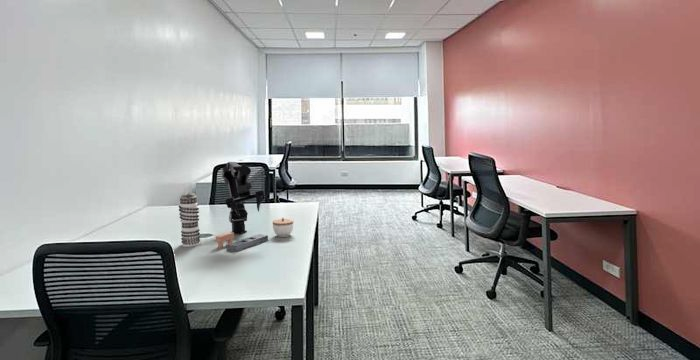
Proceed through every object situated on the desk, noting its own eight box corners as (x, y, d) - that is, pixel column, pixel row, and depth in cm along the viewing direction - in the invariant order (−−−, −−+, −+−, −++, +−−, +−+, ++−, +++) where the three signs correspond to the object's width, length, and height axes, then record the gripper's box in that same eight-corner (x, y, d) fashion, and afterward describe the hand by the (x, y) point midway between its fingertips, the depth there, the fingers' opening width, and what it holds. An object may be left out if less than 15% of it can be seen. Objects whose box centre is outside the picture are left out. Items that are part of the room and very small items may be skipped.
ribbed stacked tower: (180, 243, 210) (177, 193, 207) (200, 240, 214) (197, 191, 210) (181, 247, 202) (177, 195, 199) (201, 245, 205) (198, 194, 202)
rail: (226, 249, 197) (226, 244, 197) (258, 238, 216) (258, 234, 216) (236, 251, 194) (235, 246, 194) (268, 240, 213) (267, 235, 213)
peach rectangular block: (215, 247, 201) (215, 236, 201) (230, 242, 209) (229, 232, 208) (220, 248, 200) (219, 236, 199) (234, 243, 207) (233, 232, 207)
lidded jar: (284, 239, 215) (284, 221, 214) (268, 236, 220) (268, 218, 219) (297, 234, 224) (297, 217, 223) (282, 232, 229) (281, 215, 228)
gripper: (220, 183, 204) (225, 211, 196) (259, 173, 207) (265, 201, 200) (225, 194, 213) (230, 221, 206) (262, 185, 217) (268, 211, 210)
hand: (248, 213), depth 205 cm, fingers open, 9 cm apart
